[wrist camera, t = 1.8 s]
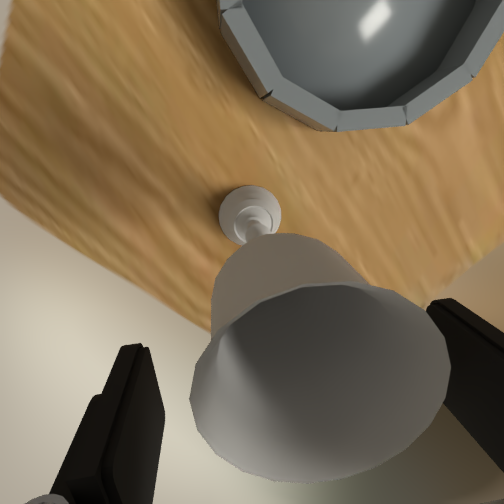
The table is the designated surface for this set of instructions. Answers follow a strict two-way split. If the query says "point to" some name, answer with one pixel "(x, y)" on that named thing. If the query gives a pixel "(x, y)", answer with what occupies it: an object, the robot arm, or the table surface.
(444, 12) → the bowl
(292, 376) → the chalice
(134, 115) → the table surface
